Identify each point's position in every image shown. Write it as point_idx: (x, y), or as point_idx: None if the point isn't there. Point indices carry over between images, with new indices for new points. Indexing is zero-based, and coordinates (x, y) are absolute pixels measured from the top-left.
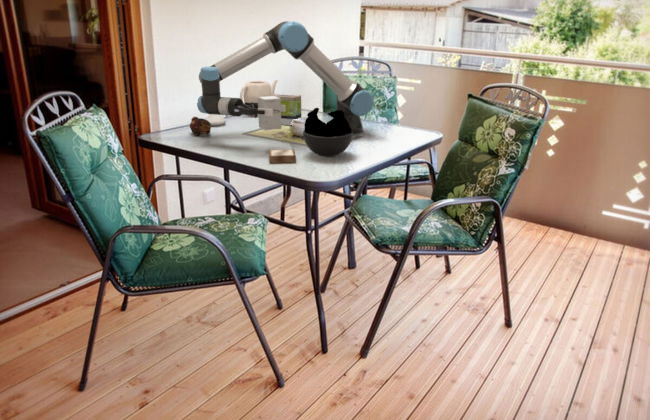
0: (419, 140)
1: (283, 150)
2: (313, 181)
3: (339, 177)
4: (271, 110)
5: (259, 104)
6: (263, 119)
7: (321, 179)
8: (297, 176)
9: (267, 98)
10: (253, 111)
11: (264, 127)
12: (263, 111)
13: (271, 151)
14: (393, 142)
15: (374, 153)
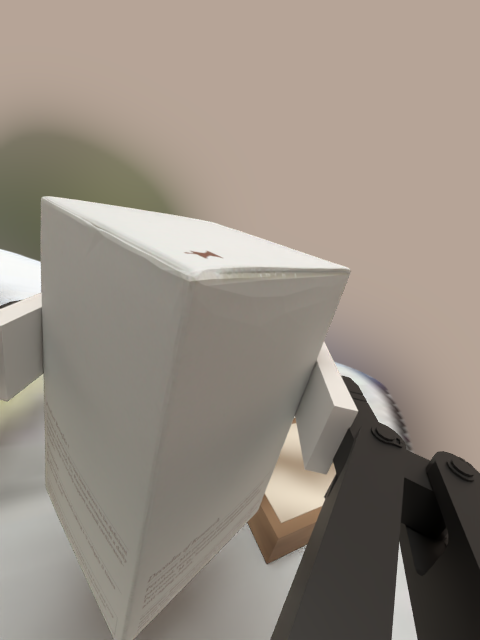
0: (20, 263)
1: None
2: (382, 392)
3: None
4: None
5: (239, 382)
6: (266, 464)
7: (360, 382)
8: (384, 419)
9: (293, 250)
10: (426, 469)
11: (256, 504)
12: (347, 382)
13: (303, 511)
14: (27, 283)
15: None
